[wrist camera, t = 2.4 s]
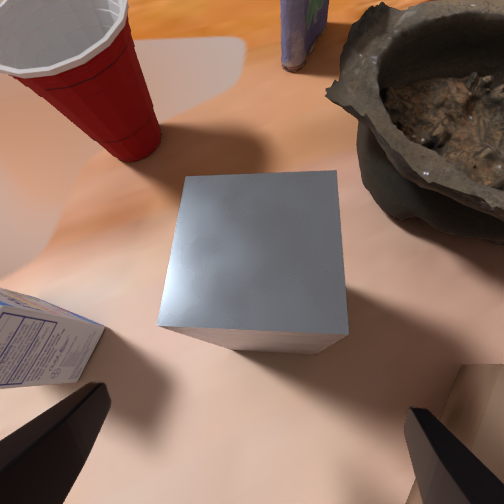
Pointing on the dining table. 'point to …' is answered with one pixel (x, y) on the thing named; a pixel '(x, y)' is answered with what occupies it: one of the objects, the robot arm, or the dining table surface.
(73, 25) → the plastic cup
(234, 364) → the dining table surface
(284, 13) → the flask
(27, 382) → the medicine box
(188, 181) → the slate tin
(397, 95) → the stone bowl
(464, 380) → the walnut block
